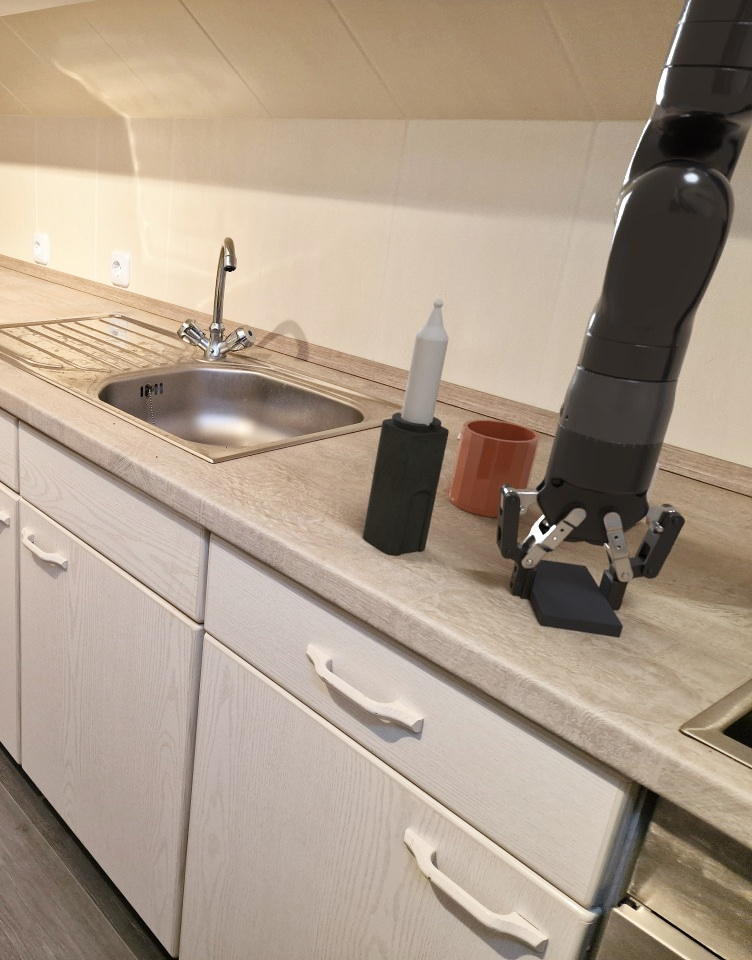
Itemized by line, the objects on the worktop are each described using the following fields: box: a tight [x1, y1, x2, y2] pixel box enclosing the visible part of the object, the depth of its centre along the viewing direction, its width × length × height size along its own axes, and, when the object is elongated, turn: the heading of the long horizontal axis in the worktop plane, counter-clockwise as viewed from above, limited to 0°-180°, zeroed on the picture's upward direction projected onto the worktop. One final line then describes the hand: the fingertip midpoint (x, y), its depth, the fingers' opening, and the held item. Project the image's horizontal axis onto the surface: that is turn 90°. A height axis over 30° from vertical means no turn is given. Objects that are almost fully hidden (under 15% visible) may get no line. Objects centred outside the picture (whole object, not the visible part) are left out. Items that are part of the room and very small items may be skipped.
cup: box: [448, 419, 542, 519], centre depth 97 cm, size 8×8×9 cm
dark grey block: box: [528, 559, 624, 638], centre depth 74 cm, size 6×11×3 cm, turn 167°
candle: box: [362, 298, 450, 556], centre depth 83 cm, size 5×5×25 cm
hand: (560, 606), depth 75 cm, fingers closed on dark grey block, 6 cm apart
